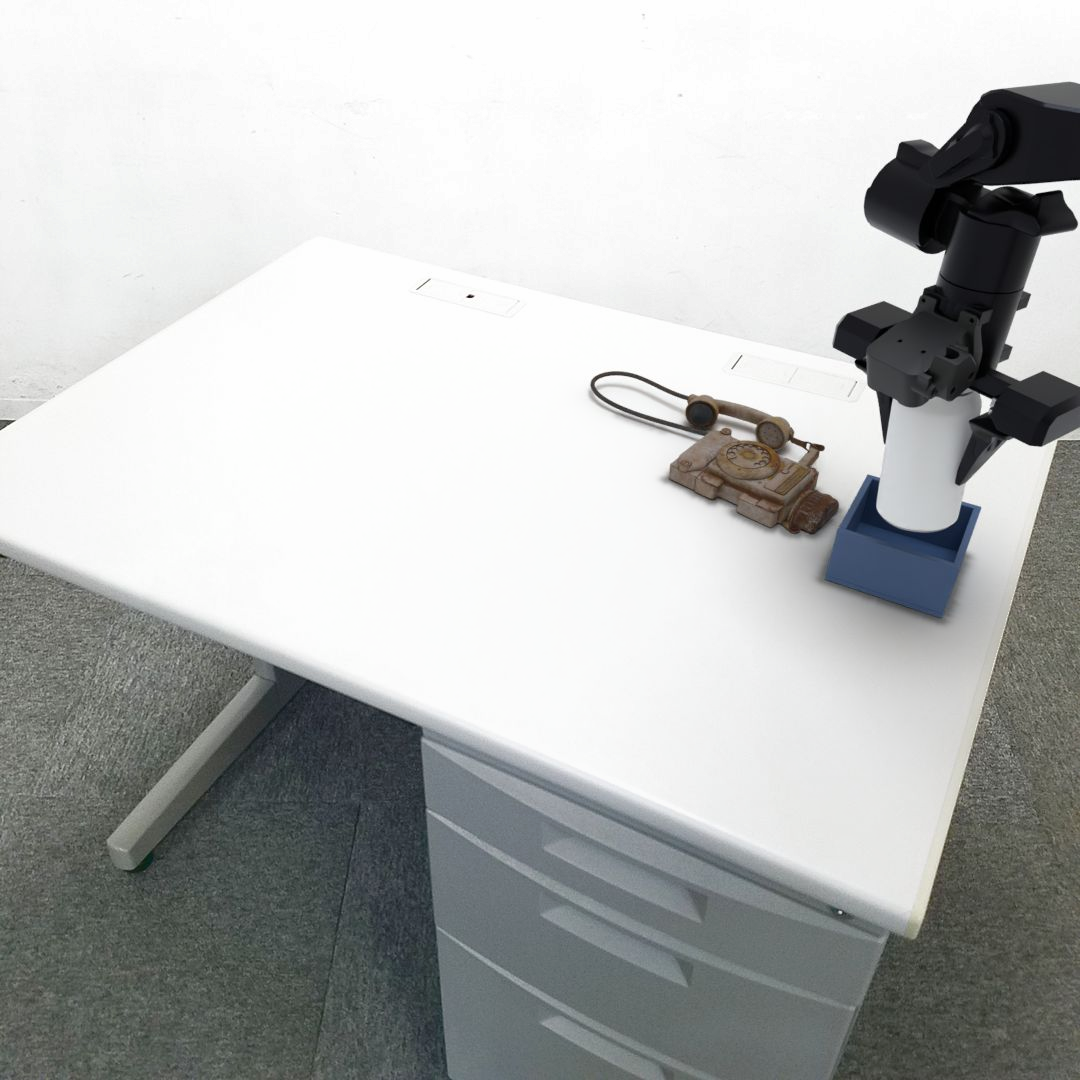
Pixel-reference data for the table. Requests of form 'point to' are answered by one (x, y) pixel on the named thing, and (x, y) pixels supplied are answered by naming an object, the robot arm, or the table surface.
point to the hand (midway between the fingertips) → (923, 463)
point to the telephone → (745, 463)
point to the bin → (899, 555)
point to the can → (925, 462)
